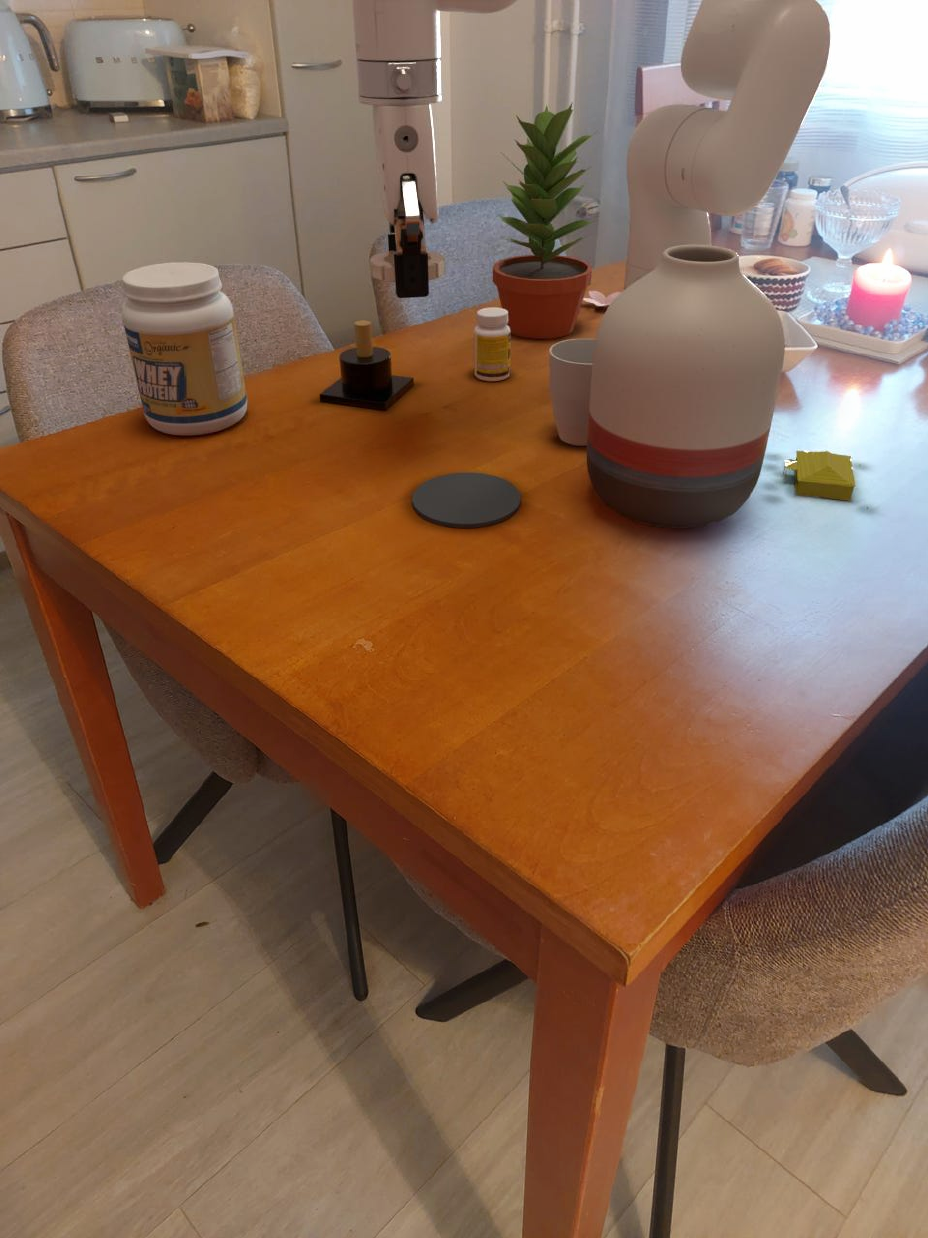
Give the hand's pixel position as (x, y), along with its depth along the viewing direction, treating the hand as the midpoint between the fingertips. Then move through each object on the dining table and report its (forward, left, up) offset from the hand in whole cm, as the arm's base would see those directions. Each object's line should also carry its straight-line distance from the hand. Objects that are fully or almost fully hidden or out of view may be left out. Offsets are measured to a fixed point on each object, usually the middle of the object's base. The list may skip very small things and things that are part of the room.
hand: (408, 283), depth 90 cm
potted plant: (-1, -45, -18) cm, 48 cm away
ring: (0, 0, +1) cm, 1 cm away
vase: (-29, +3, -18) cm, 34 cm away
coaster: (-10, +10, -18) cm, 23 cm away
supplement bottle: (-1, -24, -18) cm, 30 cm away
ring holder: (+12, -13, -18) cm, 25 cm away
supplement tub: (+28, +1, -18) cm, 33 cm away
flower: (-8, -59, -18) cm, 62 cm away
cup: (-17, -9, -18) cm, 26 cm away
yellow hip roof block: (-43, -6, -18) cm, 47 cm away
